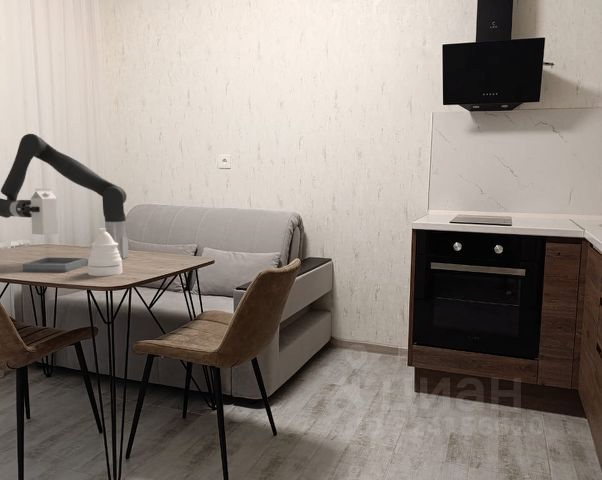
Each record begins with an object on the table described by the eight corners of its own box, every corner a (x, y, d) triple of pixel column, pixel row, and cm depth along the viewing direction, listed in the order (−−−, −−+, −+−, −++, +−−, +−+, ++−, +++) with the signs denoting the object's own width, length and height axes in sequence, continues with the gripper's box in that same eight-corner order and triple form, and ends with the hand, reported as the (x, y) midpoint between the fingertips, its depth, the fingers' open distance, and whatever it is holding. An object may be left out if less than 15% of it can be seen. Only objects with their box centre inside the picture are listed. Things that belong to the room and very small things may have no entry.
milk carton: (32, 234, 231) (30, 188, 229) (46, 233, 237) (45, 188, 236) (43, 234, 228) (41, 188, 226) (58, 233, 234) (56, 188, 232)
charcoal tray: (87, 264, 238) (86, 258, 238) (65, 272, 221) (65, 264, 220) (47, 263, 240) (46, 257, 240) (22, 271, 222) (22, 263, 222)
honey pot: (117, 275, 214) (116, 229, 212) (83, 276, 213) (81, 229, 211) (125, 270, 227) (124, 226, 225) (93, 270, 226) (92, 226, 224)
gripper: (7, 200, 232) (31, 200, 224) (38, 199, 245) (62, 200, 236) (8, 217, 233) (31, 218, 225) (39, 216, 245) (62, 217, 237)
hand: (47, 209), depth 230 cm, fingers closed on milk carton, 7 cm apart
